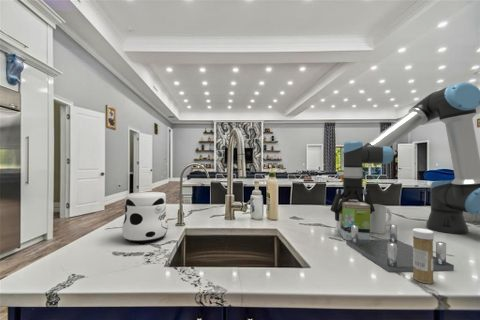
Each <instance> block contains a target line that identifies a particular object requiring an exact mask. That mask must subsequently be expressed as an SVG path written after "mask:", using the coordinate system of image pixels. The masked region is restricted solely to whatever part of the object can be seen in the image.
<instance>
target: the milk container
mask: <svg viewBox="0 0 480 320" xmlns="http://www.w3.org/2000/svg"><path fill="white" fill-rule="evenodd" d="M124 198H125V200H124V203H125V205H124V214H125V215H124V219H123V223H122V227H121V229H122V230H121V231H122V237H123V238H124V239H125V240H126V241H129V242H131V243H132V242H135V243H146V242H153V241H156V240H159V239H161V238H163V237H164V236H166V234H167V233H168V229H169V223H168V222H169V221H168V219H167V218H168V217H167V212H166V211H167V203H166V202H167V194H166V193H165V192H161V191H160V192H159V191H142V192H140V191H139V192H132V193H131V192H130V193H128V194H126V195H125V197H124Z"/></svg>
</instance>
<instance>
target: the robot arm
mask: <svg viewBox="0 0 480 320" xmlns="http://www.w3.org/2000/svg"><path fill="white" fill-rule="evenodd" d="M479 106H480V89H479V87H478V86H476V85H474V84H473V83H470V82H459V83H453V84H451V85H449V86H446V87H444V88H441V89H439V90H437V91H436V90H435V91H433V92H432V93H429V94H428V95H426V96H425V97H424V98H422V99H421V100H420V101H418V102H417V103H416V104H415V105H413V106H412V107H410V108H409V110H408V113H407V114H405V115H404V116H401V118H399V119H398V120H396V121H395V122H394V123H392V124H391V125H390V126H388V127H387V128H386V129H384V130H383V131H381V133H378V135H376V136H375V137H373V138H372V139H371V140H369V141H367V143H365V144H364V143H363V141H357V140H354V141H345V142H344V143H343V147H342V148H343V149H342V150H343V151H342V155H343V157H342V158H343V159H342V160H343V167H342V168H343V170H342V175H343V179H342V181H343V182H342V185H343V188H342V189H339V188H337V189H336V190H335V195H334V199H333V202H332V205H331V206H330V211H331V212H333V213H334V220H335V221H336V229H337V228H338V229H341V227H342V214H341V213H340V212H341V210H342V202H347V201H348V200H358V201H360V202H365V203H367V204H369V205H370V214H371V213H372V212H374V211H375V209H374V206H373V204H374V203H373V201H372V199H371V196H370V192H371V191H370V189H366V188H364V189H363V176H364V175H363V167H364V166H363V165H364V164H366V165H367V164H369V165H371V164H373V165H375V164H376V165H379V164H380V165H386V164H391V163H392V162H393V160H394V155H395V154H394V150H393V148H392V147H391V146H393V145H394V144H395V143H397V142H398V141H400V140H401V139H402V138H404V137H405V136H407V135H409V134H410V133H411V132H412V131H414V130H415V129H416V128H418V127H419V126H421V125H426V124H427V123H429V122H431V121H433V120H435V119H437V118H439V121H440V122H442V123H444V124H445V130H446V137H447V141H448V147H449V153H450V157H451V163H452V168H453V173H454V175H453V176H454V179H452V180H434V181H432V182H431V184H430V213H429V216H428V217H427V218H428V219H427V220H426V223H425V224H426V228H427V229H428V230H431V231H436V232H440V233H445V234H446V233H447V234H458V235H465V234H466V235H467V234H469V226H468V225H467V222H466V219H465V216H464V213H468V214H471V215H479V216H480V153H479V147H478V143H477V137H476V132H475V127H474V117H475V116H476V115H477V108H478V107H479ZM362 194H363V196H364V197H363V196H362ZM342 195H343V196H342ZM340 199H342V200H341V201H340ZM339 201H340V203H339ZM338 203H339V205H338Z"/></svg>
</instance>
